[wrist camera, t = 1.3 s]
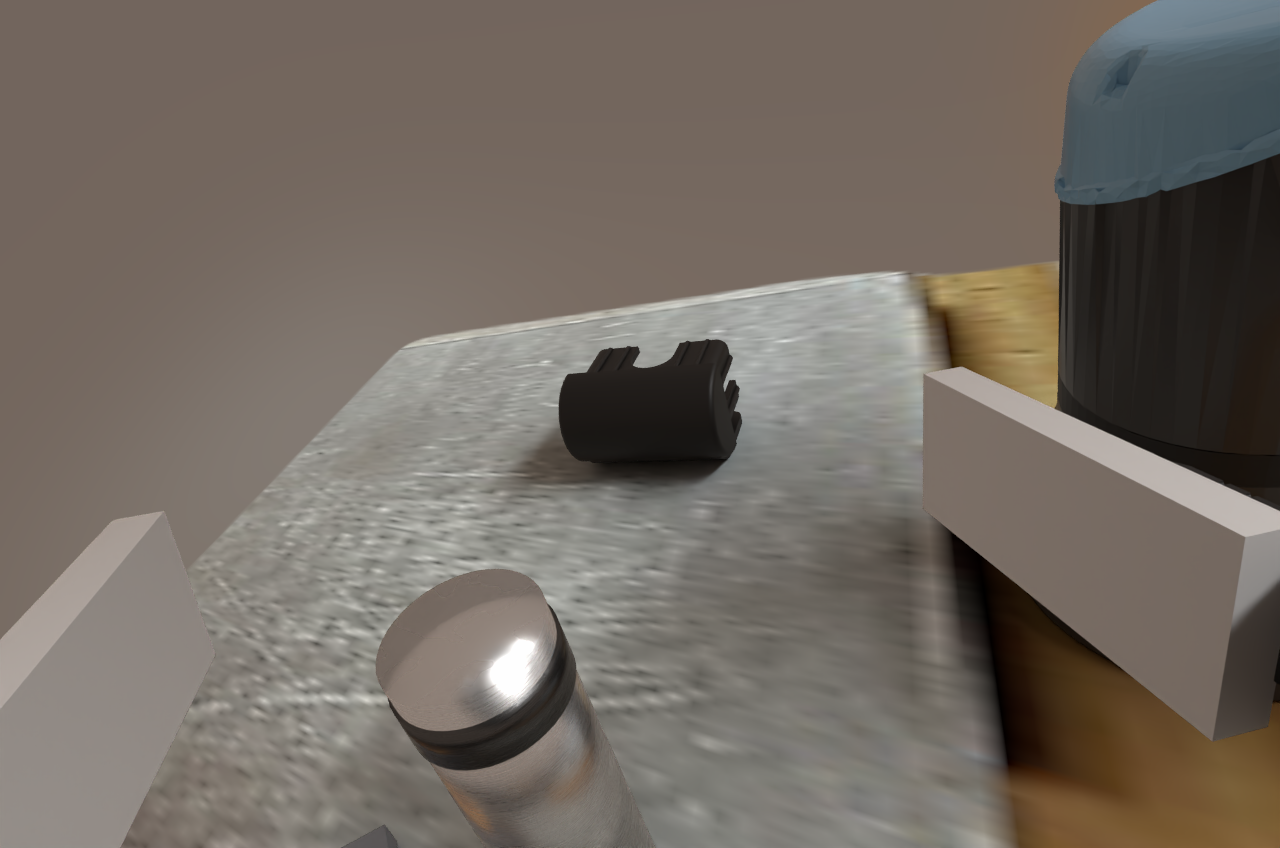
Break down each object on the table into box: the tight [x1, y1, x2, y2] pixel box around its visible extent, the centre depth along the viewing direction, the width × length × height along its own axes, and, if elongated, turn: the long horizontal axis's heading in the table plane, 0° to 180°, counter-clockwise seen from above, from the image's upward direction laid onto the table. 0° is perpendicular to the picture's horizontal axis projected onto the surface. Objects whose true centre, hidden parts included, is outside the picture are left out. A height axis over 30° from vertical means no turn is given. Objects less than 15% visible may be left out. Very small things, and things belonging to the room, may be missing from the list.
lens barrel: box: [376, 569, 656, 848], centre depth 27 cm, size 5×5×14 cm
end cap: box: [559, 339, 742, 463], centre depth 51 cm, size 10×7×7 cm
